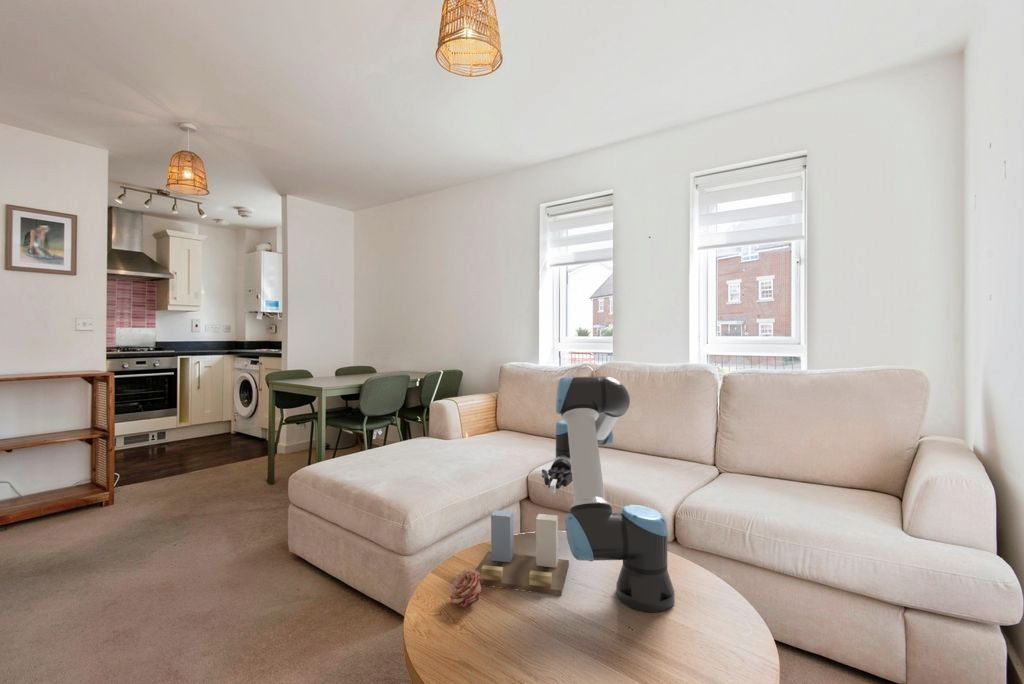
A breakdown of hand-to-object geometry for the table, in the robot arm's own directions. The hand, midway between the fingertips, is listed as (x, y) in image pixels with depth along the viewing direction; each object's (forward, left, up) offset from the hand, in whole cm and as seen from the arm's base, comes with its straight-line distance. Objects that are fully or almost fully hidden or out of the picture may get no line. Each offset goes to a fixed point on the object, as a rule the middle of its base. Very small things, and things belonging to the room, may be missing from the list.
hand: (552, 489), depth 148 cm
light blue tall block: (+14, +11, -19) cm, 26 cm away
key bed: (+7, +15, -21) cm, 27 cm away
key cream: (0, +10, -19) cm, 22 cm away
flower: (+18, +33, -21) cm, 43 cm away
